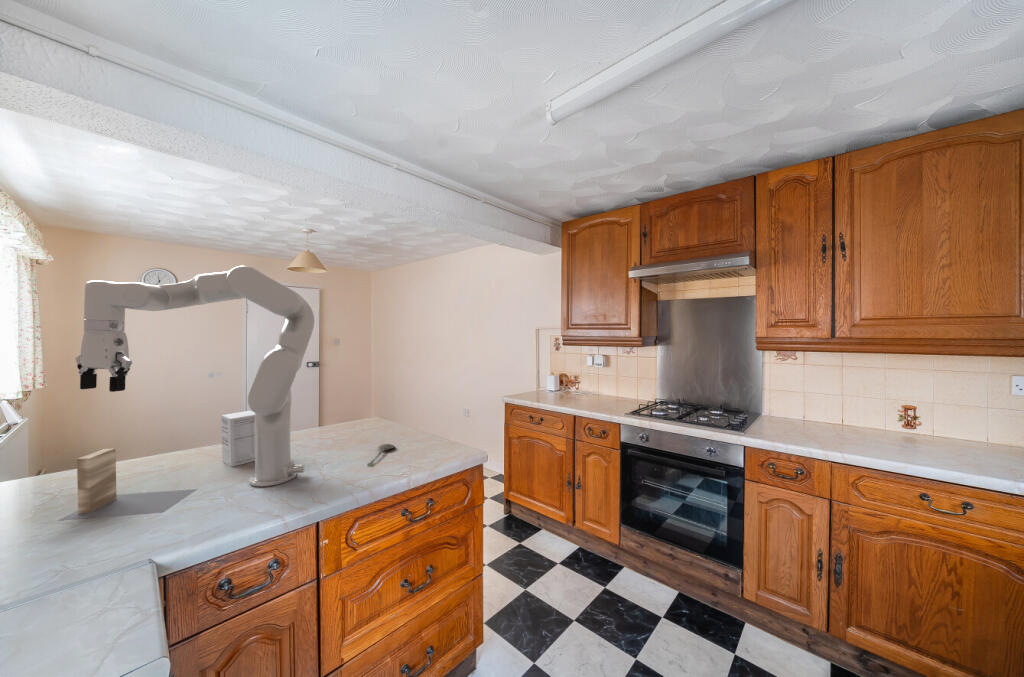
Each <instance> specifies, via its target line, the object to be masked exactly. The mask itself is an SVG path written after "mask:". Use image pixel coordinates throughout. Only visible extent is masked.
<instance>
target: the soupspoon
mask: <svg viewBox="0 0 1024 677" xmlns="http://www.w3.org/2000/svg"><path fill="white" fill-rule="evenodd" d="M377 448H378V450H380V451H379V452H378V453H377V454H376V456H375V457H374V458H373V459H372V460H371V461H370V462H367V467H373V464H374V463H375V461H376V460H377V458H379V457H380V455H381V454H382V453H384V452H385V451H389V450H390V449H393V448H396V446H395V445H393V444H391V443H383V444H381V445H379V446H378V447H377Z"/></svg>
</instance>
